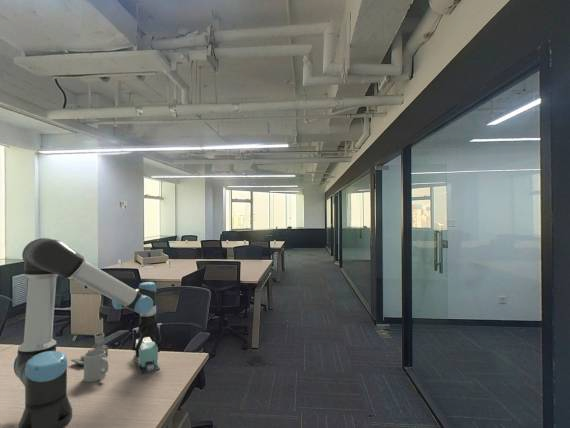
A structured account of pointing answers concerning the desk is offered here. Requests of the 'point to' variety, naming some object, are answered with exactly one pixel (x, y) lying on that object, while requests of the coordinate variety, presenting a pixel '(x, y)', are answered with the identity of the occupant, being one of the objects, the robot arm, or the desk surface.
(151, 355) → the block
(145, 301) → the robot arm
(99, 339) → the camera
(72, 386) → the desk surface
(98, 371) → the mug
